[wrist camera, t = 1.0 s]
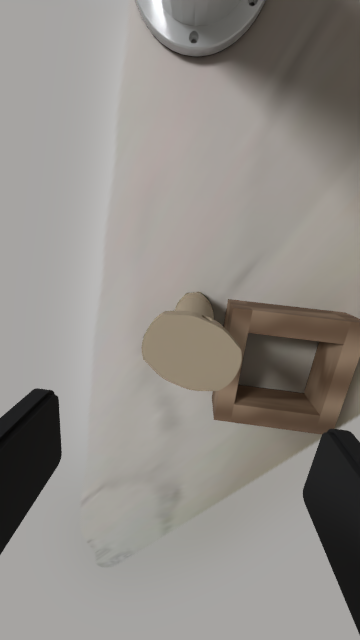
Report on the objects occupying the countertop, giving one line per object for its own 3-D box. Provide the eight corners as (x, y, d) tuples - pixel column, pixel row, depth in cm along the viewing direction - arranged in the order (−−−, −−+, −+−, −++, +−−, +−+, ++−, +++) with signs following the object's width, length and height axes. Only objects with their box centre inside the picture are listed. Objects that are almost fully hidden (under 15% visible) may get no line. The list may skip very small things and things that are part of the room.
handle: (178, 274, 29) (159, 300, 14) (226, 296, 29) (254, 342, 15) (163, 310, 30) (131, 365, 16) (209, 330, 30) (219, 403, 16)
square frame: (228, 299, 29) (233, 308, 25) (345, 312, 28) (371, 324, 24) (212, 397, 33) (214, 419, 29) (314, 411, 33) (331, 435, 28)
